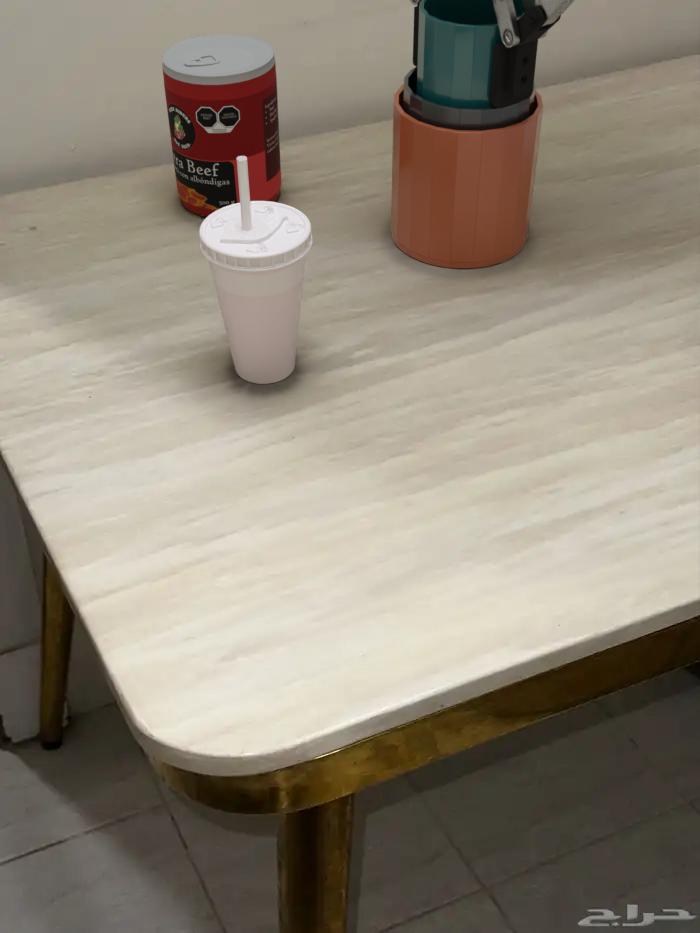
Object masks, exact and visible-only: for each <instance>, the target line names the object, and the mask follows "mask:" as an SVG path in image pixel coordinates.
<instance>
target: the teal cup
mask: <svg viewBox="0 0 700 933" xmlns="http://www.w3.org/2000/svg"><path fill="white" fill-rule="evenodd" d="M513 4H514V8H515V13H516V17H517V20H518V19H519V18H520V17H521V16H522V15H523V14H524V9H523V5H522V0H513ZM499 42H502V39H501V35H500V31H499V27H498V23H497V18H496V14H495V10H494V6H493V1H492V0H421V1H420V6H419V32H418V65H417V95H418V96H419V97H421V98H423V99H425V100H427V101H430V102H433V103H436V104H439V105H443V106H450V107H456V108H489V107H494V106H492V105H491V104H490V101H489V95H490V82H491V69H492V55H493V47H494V44H496V43H499Z"/></svg>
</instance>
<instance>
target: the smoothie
mask: <svg viewBox="0 0 700 933" xmlns="http://www.w3.org/2000/svg"><path fill="white" fill-rule="evenodd" d="M237 170H238V182H239V195H240V203H236V204H231V205H228V206H225V207H223V208H221V209H218V210H216V211H215V212H213V213H212V214H210V215H209V216H208V217H205V219H203V221H202V222H201V224H200V226H199V232H198V233H199V248H200V251H201V253H202V255H203V256H204V257H205V258H206V259H207V260H208V263H209V266H210V267H209V268H210V272H211V276H212V279H213V280H212V281H213V284H214V288H215V293H216V297H217V301H218V304H219V309H220V313H221V316H222V321H223V325H224V329H225V333H226V336H227V340H228V345H229V349H230V353H231V358H232V361H233V366H234V370H235V372H236V374H237V375H238V376H239V377H240V378H241V379H242V380H244V381H246V382H249V383H251V384H258V385H267V384H268V385H269V384H273V383H278V382H280V381H283V380H285V379H286V378H288V377H289V376H290V375H292V373H293V372H294V370H295V368H296V357H297V356H296V355H297V347H298V346H297V345H298V336H299V327H300V316H301V306H302V296H303V287H304V277H305V276H304V275H305V271H306V270H305V269H306V256H307V254H308V253H309V252H310V251H311V248H312V246H313V234H312V225H311V221H310V219H309V218H308V217H307V215H306V214H304V212H302V211H300V210H299V209H297V208H296V207H293V206H292V205H288V204H286V203H282V202H277V201H275V202H271V201H250V193H249V179H248V165H247V157H246V156H239V157H237Z"/></svg>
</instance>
